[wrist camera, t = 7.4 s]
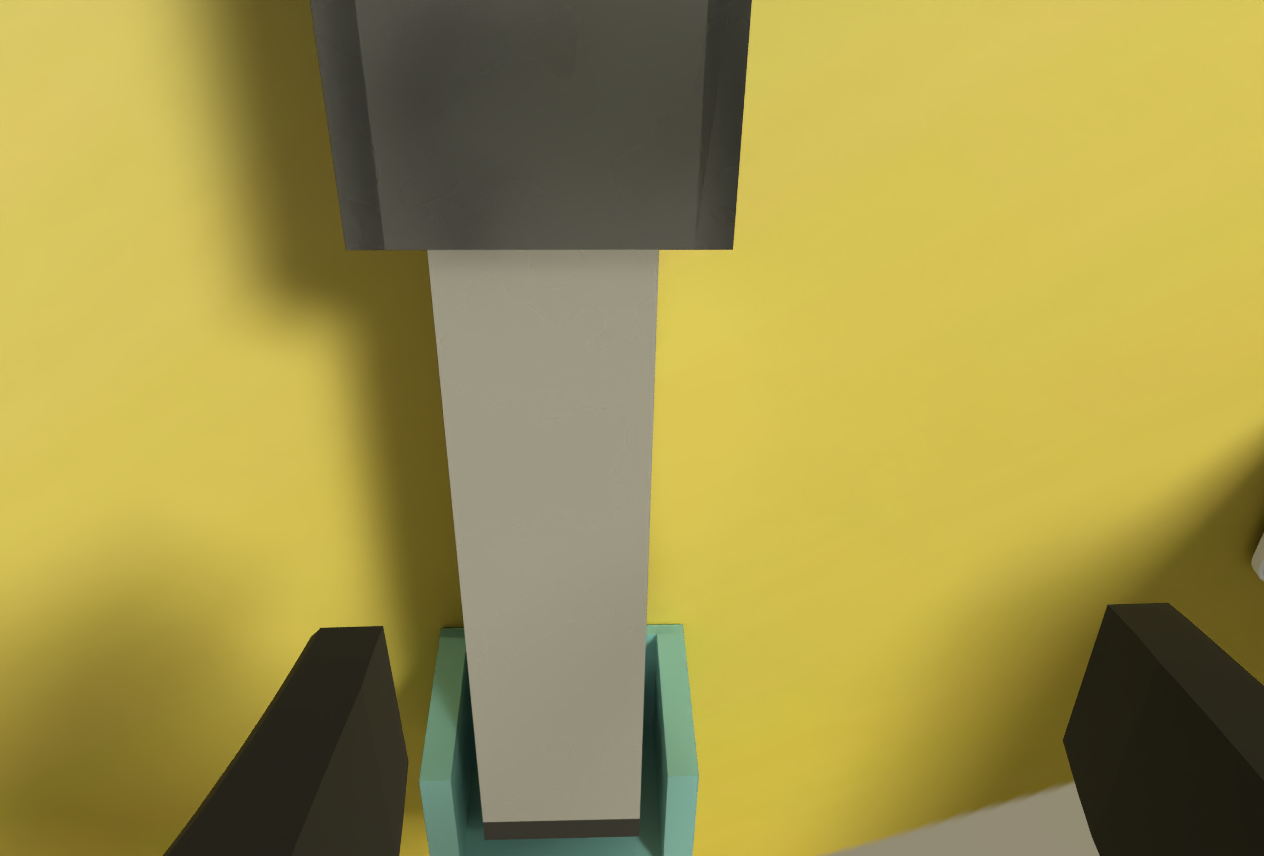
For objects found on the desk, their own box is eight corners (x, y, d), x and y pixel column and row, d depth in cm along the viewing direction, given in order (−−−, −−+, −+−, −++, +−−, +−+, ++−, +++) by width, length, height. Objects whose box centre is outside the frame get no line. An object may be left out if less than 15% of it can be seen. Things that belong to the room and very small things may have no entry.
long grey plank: (648, 126, 18) (659, 208, 15) (633, 715, 26) (639, 836, 23) (446, 126, 18) (422, 209, 15) (494, 718, 26) (485, 839, 23)
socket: (682, 624, 25) (698, 775, 22) (676, 733, 27) (690, 886, 24) (441, 628, 25) (419, 781, 21) (453, 737, 27) (435, 893, 23)
